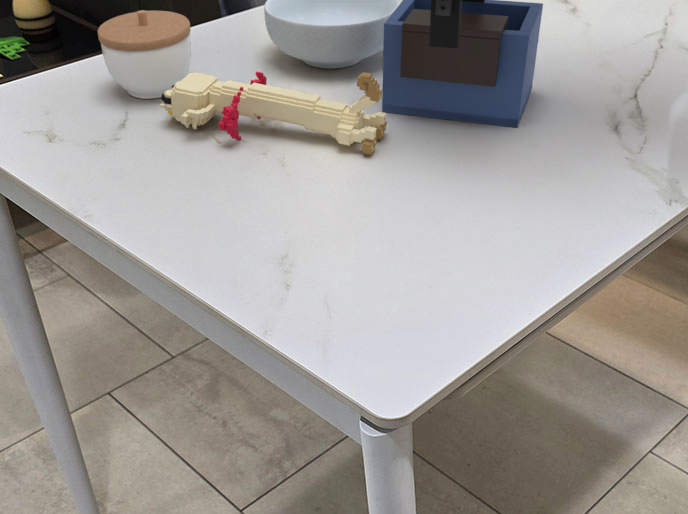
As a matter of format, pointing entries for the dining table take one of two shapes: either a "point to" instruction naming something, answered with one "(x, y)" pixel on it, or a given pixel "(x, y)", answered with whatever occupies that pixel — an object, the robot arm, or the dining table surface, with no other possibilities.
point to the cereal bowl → (328, 29)
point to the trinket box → (146, 51)
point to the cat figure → (276, 107)
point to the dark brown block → (453, 50)
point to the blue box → (467, 99)
